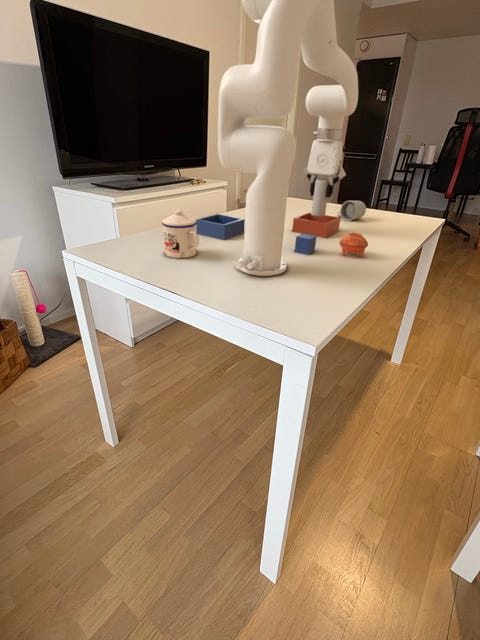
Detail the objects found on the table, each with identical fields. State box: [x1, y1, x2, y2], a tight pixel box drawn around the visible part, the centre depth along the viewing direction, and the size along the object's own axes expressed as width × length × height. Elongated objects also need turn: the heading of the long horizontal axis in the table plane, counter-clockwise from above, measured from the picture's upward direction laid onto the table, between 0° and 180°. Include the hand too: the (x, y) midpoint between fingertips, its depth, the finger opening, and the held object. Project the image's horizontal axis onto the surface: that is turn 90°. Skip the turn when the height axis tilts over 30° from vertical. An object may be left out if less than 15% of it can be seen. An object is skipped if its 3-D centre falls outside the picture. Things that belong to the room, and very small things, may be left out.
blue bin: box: [195, 213, 245, 241], centre depth 115 cm, size 12×12×5 cm
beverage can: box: [310, 177, 329, 217], centre depth 117 cm, size 5×5×12 cm
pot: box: [339, 232, 369, 258], centre depth 99 cm, size 8×8×7 cm
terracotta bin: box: [291, 212, 342, 239], centre depth 122 cm, size 13×13×5 cm
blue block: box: [294, 233, 318, 255], centre depth 100 cm, size 4×4×4 cm
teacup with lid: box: [161, 209, 200, 259], centre depth 92 cm, size 12×9×12 cm
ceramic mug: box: [337, 200, 367, 222], centre depth 141 cm, size 11×8×8 cm
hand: (320, 195), depth 117 cm, fingers closed on beverage can, 4 cm apart
